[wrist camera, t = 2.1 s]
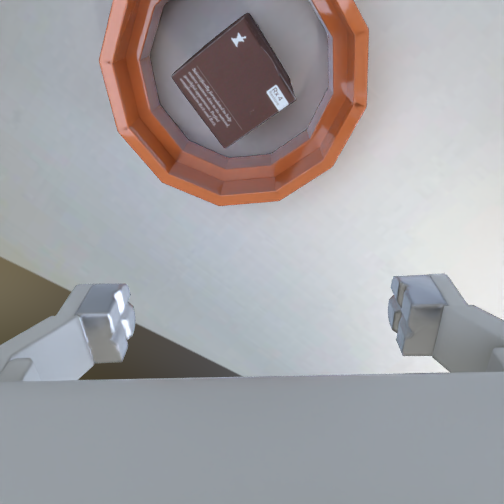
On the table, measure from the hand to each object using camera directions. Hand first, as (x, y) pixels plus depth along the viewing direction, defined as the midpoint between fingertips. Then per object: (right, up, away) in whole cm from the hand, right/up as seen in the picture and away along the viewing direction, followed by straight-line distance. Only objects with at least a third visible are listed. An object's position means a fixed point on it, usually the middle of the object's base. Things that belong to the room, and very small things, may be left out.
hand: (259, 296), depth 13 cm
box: (-1, +16, +21) cm, 26 cm away
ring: (-1, +16, +21) cm, 26 cm away
